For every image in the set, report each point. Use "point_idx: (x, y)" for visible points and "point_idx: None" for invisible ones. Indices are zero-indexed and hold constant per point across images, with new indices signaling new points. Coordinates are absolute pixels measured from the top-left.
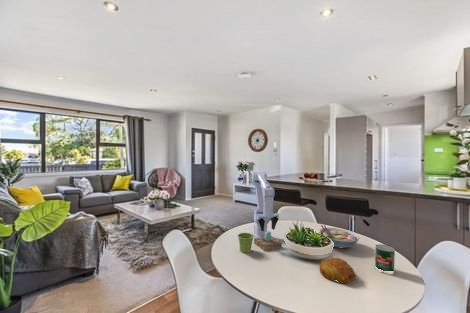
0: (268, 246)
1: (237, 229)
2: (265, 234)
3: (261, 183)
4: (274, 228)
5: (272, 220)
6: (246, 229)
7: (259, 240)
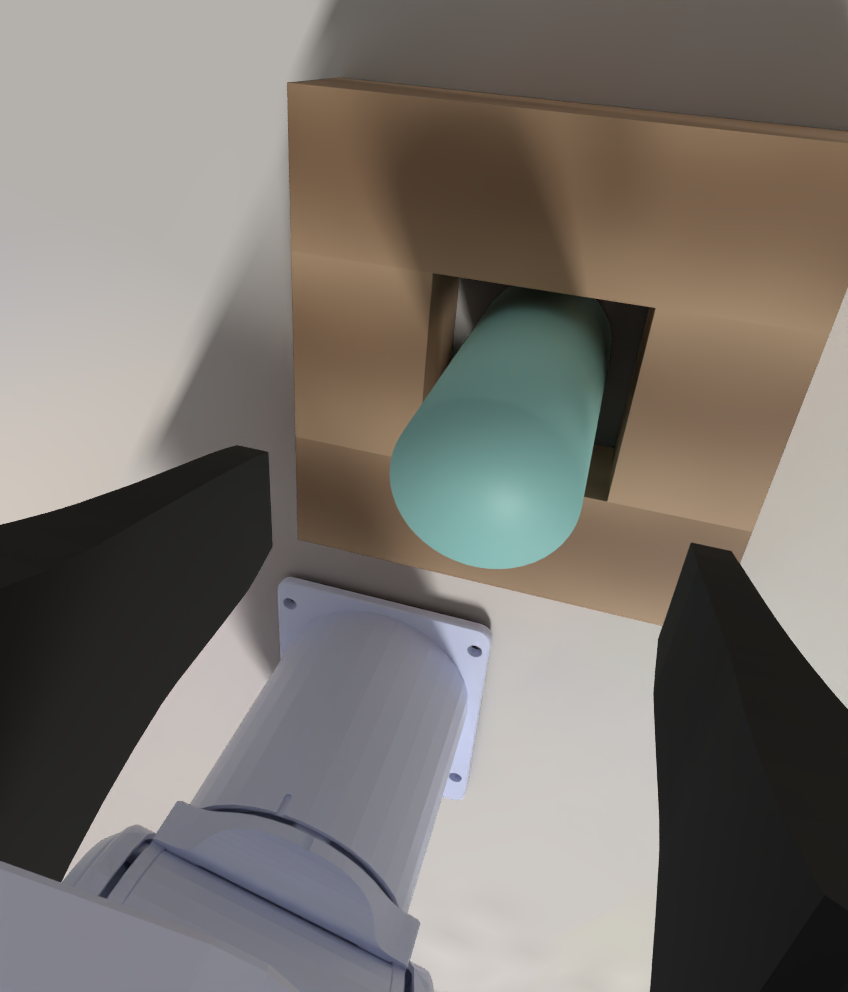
0: (730, 126)
1: (544, 981)
2: (586, 474)
3: None
4: (219, 453)
5: (76, 751)
6: (429, 917)
7: (704, 492)
